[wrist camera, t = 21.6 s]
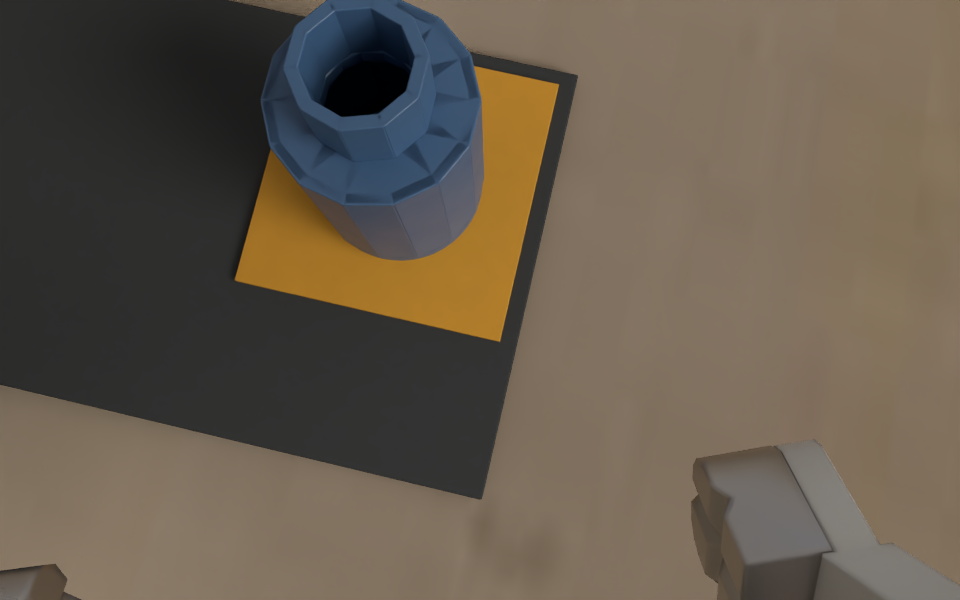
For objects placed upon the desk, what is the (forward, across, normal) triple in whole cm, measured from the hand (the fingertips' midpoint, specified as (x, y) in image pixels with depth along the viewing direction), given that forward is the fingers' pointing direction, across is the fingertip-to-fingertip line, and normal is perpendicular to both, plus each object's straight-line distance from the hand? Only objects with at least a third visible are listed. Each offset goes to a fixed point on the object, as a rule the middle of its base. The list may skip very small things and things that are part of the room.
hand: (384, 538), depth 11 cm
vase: (+15, 0, +3) cm, 16 cm away
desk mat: (+16, +6, +4) cm, 17 cm away
